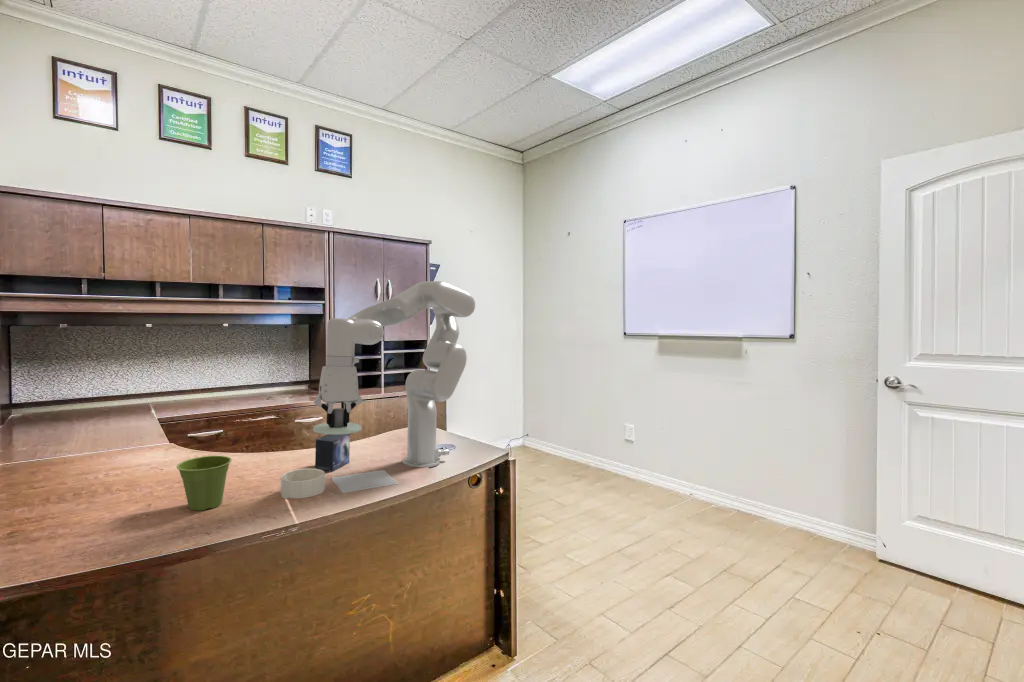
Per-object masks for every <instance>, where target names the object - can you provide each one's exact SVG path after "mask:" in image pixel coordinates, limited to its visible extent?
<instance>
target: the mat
mask: <svg viewBox="0 0 1024 682" xmlns="http://www.w3.org/2000/svg"><path fill="white" fill-rule="evenodd" d="M330 479H331V480H332V482H333V483H334V485H336V487H337V488H338V489H339V490H340V492H341V494H346V493H352V492H359V491H365V490H371V489H376V488H381V487H387V486H388V487H389V486H395V485H399V482H398V481H397V480H396V479H394V478H393V477H392V476H391V475H390V474H389V473H388V472H386V470H384V469H381V470H373V471H367V472H361V473H354V474H347V475H342V476H334V477H330Z"/></svg>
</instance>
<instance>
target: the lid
mask: <svg viewBox="0 0 1024 682" xmlns="http://www.w3.org/2000/svg"><path fill="white" fill-rule="evenodd" d="M332 411H333V414H334V427H333V428H330V427H329V426H328V424H327V422H324V423H317V424H316V425H313V429H312V430H313V432H314V433H316V434H321V435H341V434H350V435H351V434H355V433H358V432H360V431H362V427H363V425H361V424H360V423H356V422H350V421H349V423H347V427H345V426H344V407H343V408H340V407H336V408H333V409H332Z"/></svg>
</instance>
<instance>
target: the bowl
mask: <svg viewBox="0 0 1024 682" xmlns="http://www.w3.org/2000/svg"><path fill="white" fill-rule="evenodd" d="M325 490H326V472H325V471H323V470H319V469H315V468H308V467H307V468H299V469H298V468H297V469H293V470H290V471H287V472H284V473H283V474H282V475H280V496H281V499H285V500H289V499H306V498H311V497H315V496H317V495H320V494H322V493H323V492H324V491H325Z"/></svg>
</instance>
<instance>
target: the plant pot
mask: <svg viewBox="0 0 1024 682" xmlns="http://www.w3.org/2000/svg"><path fill="white" fill-rule="evenodd" d="M232 461H233V459H232V458H231V457H229V456H227V455H226V456H225V455H206V456H205V455H204V456H198V457H194V458H189V459H187V460H184V461H181V462H179V463H177V464H176V469H177V470H178V471H179V474H180V477H181V479H182V482H183V488H184V493H185V497H186V500H187V506H188V508H189V509H190V510H191V511H198V512H199V511H206V510H207V509H215V508H216V507H218V506H220V505H222V503H223V500H224V499H223V497H224V493H225V486H226V481H227V480H226V479H227V474H228V473H227V472H228V470H229V467H230V464H231V463H232Z"/></svg>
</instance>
